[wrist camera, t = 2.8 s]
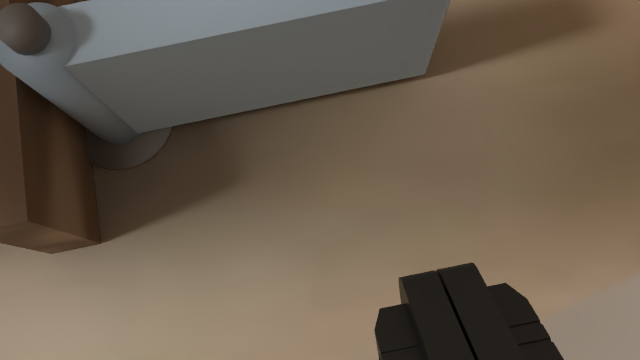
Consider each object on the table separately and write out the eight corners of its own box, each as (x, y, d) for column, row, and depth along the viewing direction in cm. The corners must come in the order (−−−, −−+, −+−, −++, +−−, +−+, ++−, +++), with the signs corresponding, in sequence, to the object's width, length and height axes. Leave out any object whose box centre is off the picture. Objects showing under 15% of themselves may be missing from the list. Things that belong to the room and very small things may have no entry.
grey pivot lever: (94, 149, 26) (-4, 82, 18) (88, 95, 26) (-10, 10, 19) (425, 80, 26) (457, -12, 19) (411, 29, 26) (437, -80, 19)
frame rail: (51, 254, 25) (-101, 221, 16) (22, -62, 29) (-114, -222, 20) (191, 224, 25) (113, 176, 17) (144, -87, 29) (60, -257, 20)
